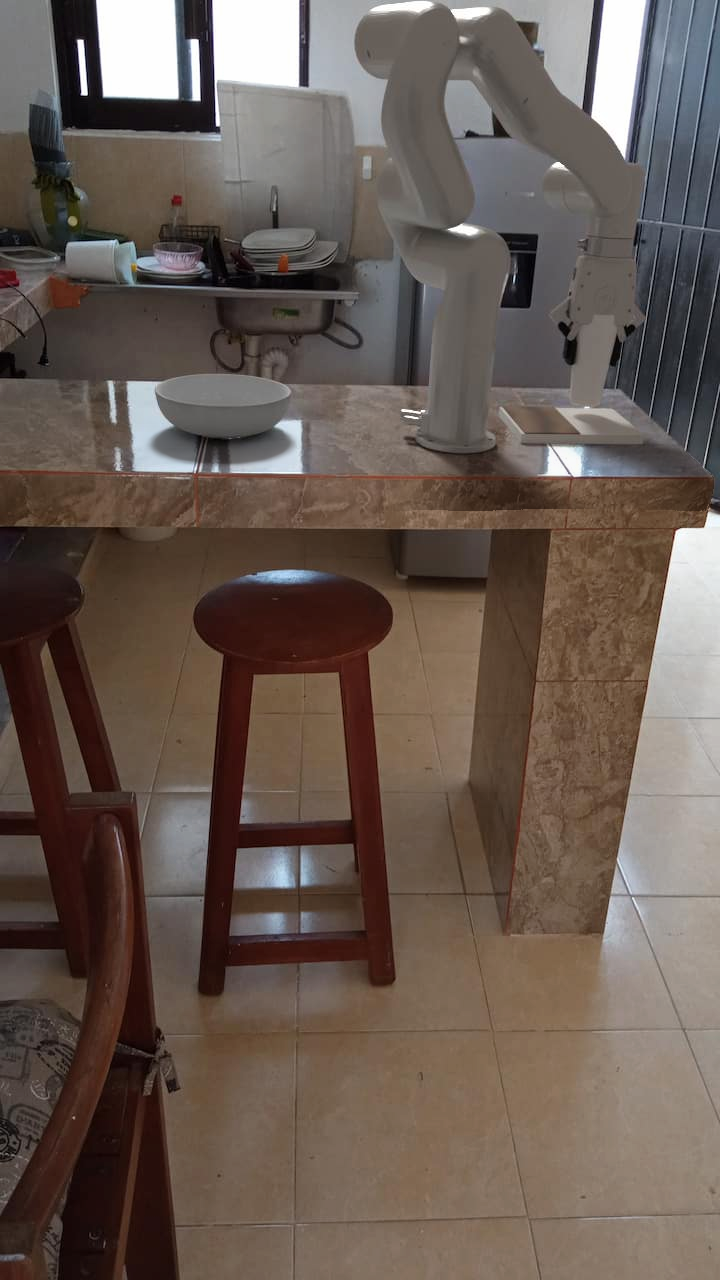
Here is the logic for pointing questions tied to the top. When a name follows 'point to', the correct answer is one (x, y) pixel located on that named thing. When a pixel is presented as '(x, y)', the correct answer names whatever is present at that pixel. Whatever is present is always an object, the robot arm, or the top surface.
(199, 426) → the serving bowl
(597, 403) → the drinking glass
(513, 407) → the brown rectangular panel
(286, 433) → the top surface
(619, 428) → the board
